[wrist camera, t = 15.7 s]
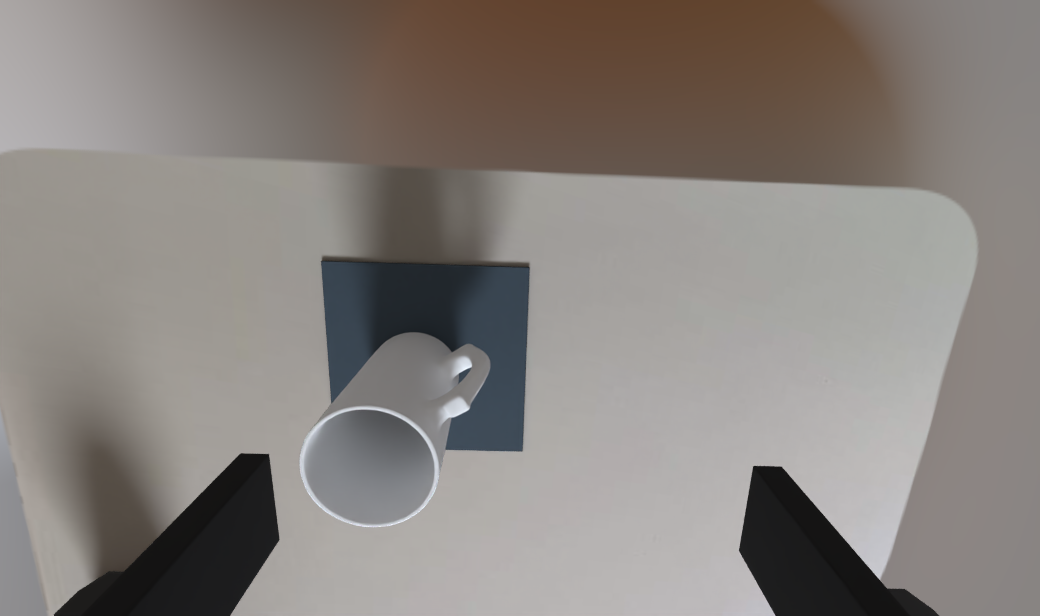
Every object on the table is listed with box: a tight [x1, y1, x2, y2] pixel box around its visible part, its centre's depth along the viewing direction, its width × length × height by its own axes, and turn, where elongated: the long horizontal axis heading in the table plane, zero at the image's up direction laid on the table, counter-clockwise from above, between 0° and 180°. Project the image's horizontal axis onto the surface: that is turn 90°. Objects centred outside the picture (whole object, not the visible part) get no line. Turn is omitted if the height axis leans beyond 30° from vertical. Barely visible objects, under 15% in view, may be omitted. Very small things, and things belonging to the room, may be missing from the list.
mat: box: [321, 261, 529, 451], centre depth 36 cm, size 14×14×1 cm
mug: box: [299, 332, 490, 527], centre depth 30 cm, size 10×7×12 cm, turn 122°
